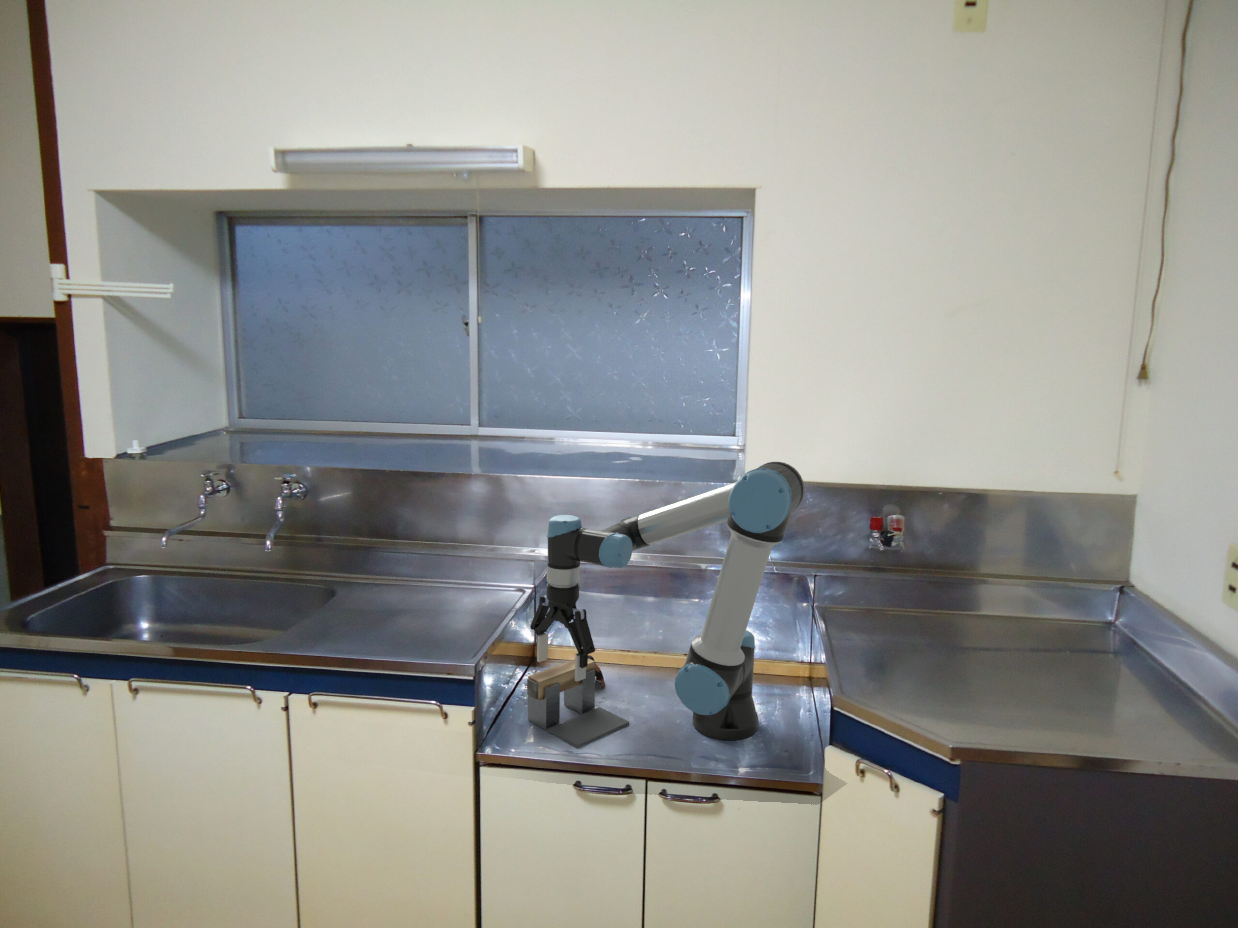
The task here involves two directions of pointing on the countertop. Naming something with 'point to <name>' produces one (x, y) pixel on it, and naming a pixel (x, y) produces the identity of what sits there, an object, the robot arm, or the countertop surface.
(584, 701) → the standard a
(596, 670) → the pottery mug
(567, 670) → the oak rail
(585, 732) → the mat
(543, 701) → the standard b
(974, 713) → the countertop surface
